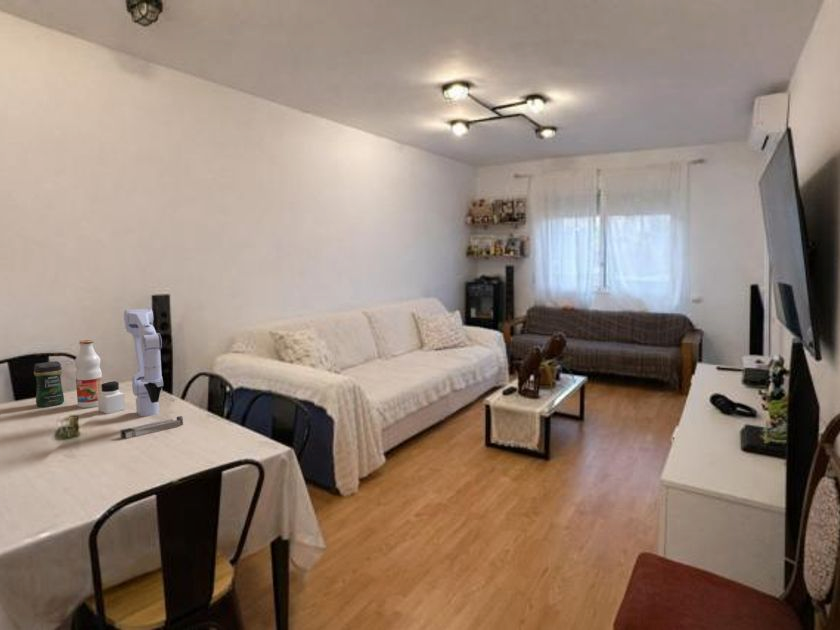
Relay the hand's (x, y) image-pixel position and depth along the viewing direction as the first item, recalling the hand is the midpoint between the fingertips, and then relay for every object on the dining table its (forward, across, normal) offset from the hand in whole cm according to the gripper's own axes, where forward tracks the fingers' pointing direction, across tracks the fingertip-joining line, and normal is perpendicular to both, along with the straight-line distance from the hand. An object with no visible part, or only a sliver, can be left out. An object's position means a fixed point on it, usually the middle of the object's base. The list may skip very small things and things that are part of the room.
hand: (154, 402), depth 186 cm
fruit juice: (+10, -49, -10) cm, 51 cm away
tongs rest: (+9, +6, -4) cm, 12 cm away
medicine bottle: (+10, -34, -6) cm, 36 cm away
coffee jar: (+10, -62, -22) cm, 66 cm away
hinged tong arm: (+8, +8, -5) cm, 13 cm away
